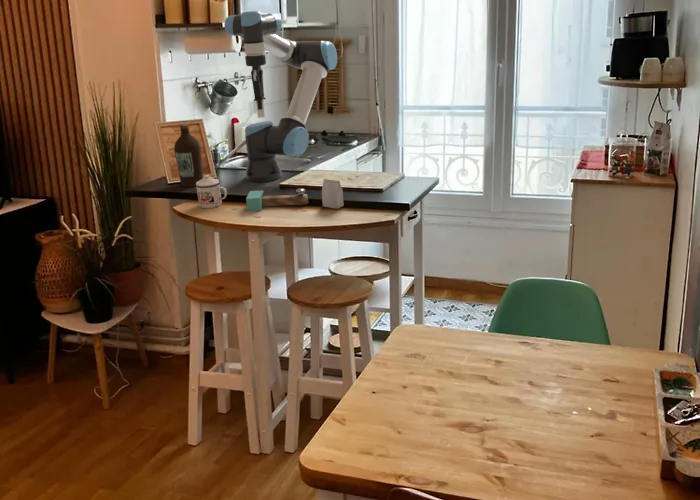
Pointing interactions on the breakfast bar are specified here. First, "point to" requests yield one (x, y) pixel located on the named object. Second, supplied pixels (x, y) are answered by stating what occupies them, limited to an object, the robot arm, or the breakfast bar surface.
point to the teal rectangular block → (254, 201)
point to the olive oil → (188, 158)
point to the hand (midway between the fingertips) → (261, 117)
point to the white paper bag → (332, 194)
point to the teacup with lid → (209, 192)
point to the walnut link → (284, 200)
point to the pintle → (300, 191)
